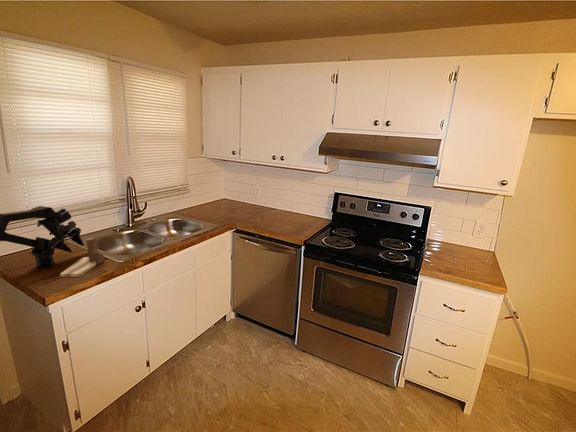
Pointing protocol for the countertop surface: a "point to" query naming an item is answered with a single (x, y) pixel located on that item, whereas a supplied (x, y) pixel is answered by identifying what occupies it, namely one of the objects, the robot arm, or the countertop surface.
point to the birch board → (79, 268)
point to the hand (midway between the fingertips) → (77, 248)
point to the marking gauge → (94, 251)
